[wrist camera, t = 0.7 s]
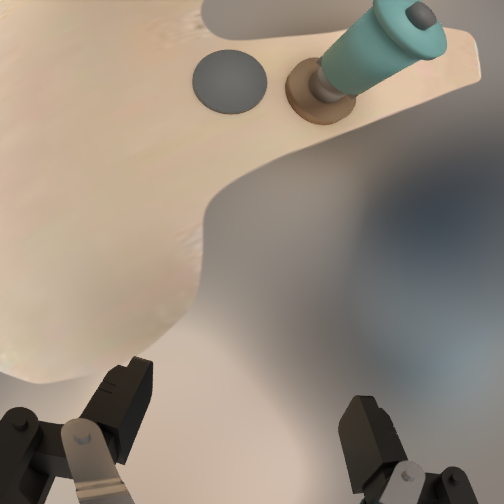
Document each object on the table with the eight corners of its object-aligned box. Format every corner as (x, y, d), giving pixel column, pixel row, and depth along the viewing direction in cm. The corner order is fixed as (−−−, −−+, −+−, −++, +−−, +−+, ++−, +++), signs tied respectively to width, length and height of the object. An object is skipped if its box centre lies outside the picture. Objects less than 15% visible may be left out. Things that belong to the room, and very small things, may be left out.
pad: (177, 80, 27) (177, 78, 27) (230, 41, 28) (231, 38, 27) (229, 128, 29) (229, 127, 29) (280, 85, 30) (281, 83, 29)
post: (271, 87, 30) (291, 59, 23) (314, 54, 30) (340, 27, 23) (320, 138, 31) (351, 122, 25) (359, 101, 32) (392, 83, 25)
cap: (304, 61, 23) (373, -12, 11) (341, 36, 23) (410, -26, 11) (350, 110, 24) (441, 63, 13) (382, 80, 25) (465, 36, 13)
